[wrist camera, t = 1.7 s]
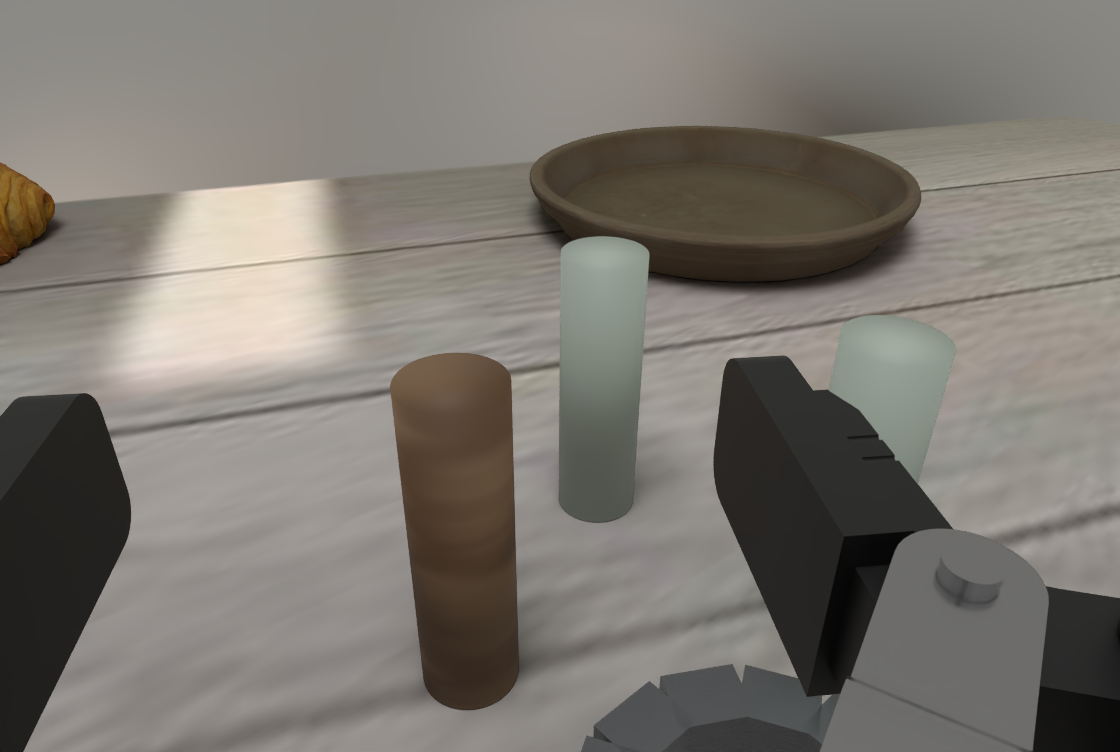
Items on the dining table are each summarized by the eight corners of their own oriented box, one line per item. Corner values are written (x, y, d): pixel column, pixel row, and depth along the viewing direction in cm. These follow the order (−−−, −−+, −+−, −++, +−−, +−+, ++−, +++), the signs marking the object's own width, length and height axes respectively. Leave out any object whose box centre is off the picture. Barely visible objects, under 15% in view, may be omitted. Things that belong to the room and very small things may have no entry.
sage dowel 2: (767, 609, 32) (819, 337, 26) (816, 568, 34) (876, 306, 28) (844, 663, 30) (922, 379, 24) (893, 615, 32) (976, 342, 26)
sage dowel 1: (543, 495, 38) (542, 250, 32) (596, 465, 40) (605, 230, 34) (594, 533, 36) (604, 278, 30) (648, 499, 38) (667, 254, 32)
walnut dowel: (404, 665, 30) (367, 378, 24) (480, 617, 32) (464, 341, 26) (460, 727, 28) (435, 430, 21) (538, 672, 29) (535, 385, 23)
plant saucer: (489, 183, 78) (487, 134, 76) (775, 155, 87) (781, 110, 84) (613, 329, 53) (616, 262, 50) (999, 269, 62) (1017, 209, 59)
